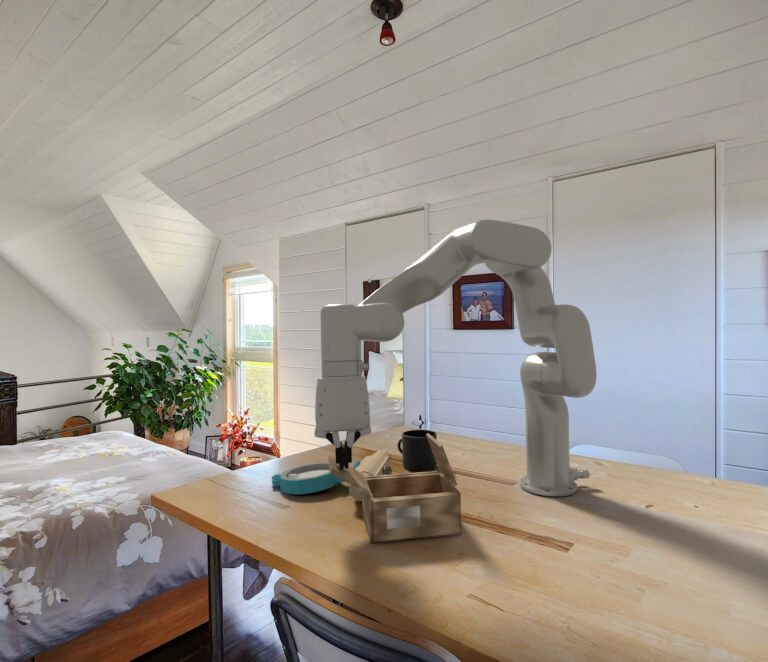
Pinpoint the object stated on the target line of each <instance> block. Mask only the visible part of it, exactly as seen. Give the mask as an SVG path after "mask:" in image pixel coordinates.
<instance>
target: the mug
mask: <svg viewBox="0 0 768 662" xmlns="http://www.w3.org/2000/svg"><path fill="white" fill-rule="evenodd" d="M428 433H429V434H430V435H431V436H432V437H433V438H435V439H436V440H437V439H438V438H437V433H436V431H433V430H428V429H411V430H405V431H404V432H402V434H401V438H400V439H399V440H398V442H397V449H398V452H399V453H400V454H401V455H402V467H403V468H404V467H405V468H404V469H406V468H407V469H406V470H408V469H410V470H409V471H412V470H416V471H415V472H423V471H422V470H428V471H432V470H434V468H435V469H436V468H437V467H438V465H437V462H436V460H435V457H434V454H433V452H432V449H431V447H430V444H429V441H428V439H427V436H426V434H428ZM437 441H438V440H437ZM401 446H402V447H401ZM431 469H432V470H431Z"/></svg>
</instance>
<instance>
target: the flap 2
mask: <svg viewBox="0 0 768 662" xmlns="http://www.w3.org/2000/svg"><path fill="white" fill-rule="evenodd" d="M426 436H427V439H428V441H429V444H430V447H431V449H432V452H433V454H434V457H435V460H436V462H437V467H438V470H439V471H440V473H442V474H443V475H444V476H445V477H446V478H447V479H448V480H449V481H450V482H451V483H452V484H453V485H454V487H456V486H458V483H457V480H456V478H455V475H454V472H453V469H452V467H451V465H450V461H449V459H448V456H447V455H446V451H445V448H444V446H443V444H441V443H440V442H439V441H438V440H436V439H435V438H433V437H432V436H431V435H430V434H429V433H428V434H426Z"/></svg>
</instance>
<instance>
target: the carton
mask: <svg viewBox="0 0 768 662" xmlns="http://www.w3.org/2000/svg"><path fill="white" fill-rule="evenodd" d="M365 479H366V481H367V484H368V487H369V489H370V493H369V494H367V493H365V492H363V491H362V501H361V502H362V503H361V504H362V505H361V506H362V518H363V522H364V525H365V529H366V532H367V535H368V540H369V543H370V544H377V543H385V542H396V541H406V540H417V539H427V537H428V539H429V538H436V536H439V537H446V536H447V535H449V536H457V535H458V534H459V535H462V503H461V500H462V499H461V492H460V490H458V488H456V486H454V485H453V484H452V483H451V482H450V481H449V480H448V479H447V477H446V476H445V475H444V474H443V473H442V472H439V471H438V470H434V471H433V470H432V471H418V472H410V473H409V472H407V473H394V474H393V473H392V475H379V476H365ZM447 537H448V536H447Z"/></svg>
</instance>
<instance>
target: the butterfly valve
mask: <svg viewBox="0 0 768 662" xmlns="http://www.w3.org/2000/svg"><path fill="white" fill-rule="evenodd" d="M391 460H392V457H391V454H390V453H389V452H388V450H385V449H379V450H377V451H375V453H373V454H371V455H365V457H364V458H363V459H362V460H361V461H359V460H356V461H354V463H353V466H351V467H352V468H353V469H355V470H357V471H359V472H361V473H362V474H364V476H379V475H392V474H393V470H392V467H391ZM339 483H346V482H345V481H343V480H342V479H340V478H338V477H336V476H334V475H333V474H331V473H330V468H329V461H319V462H311V463H307V464H306V463H305V464H302V465H301V464H300V465H297V466H294V467H290V468H289V469H287V470H284V471H283V472H281V473H276V474H273V476H272V477H271V484H272V487H279V488H280V491H281V490H282V491H283V492H282V491H281V492H282V493H285V494H288V495H305V494H306V495H307V494H312V493H316V492H321V491H325V490H328V489H330V488H333V487H335V486H337V485H338V484H339ZM348 491H349V495H350V496H351V498H352V499H353V500H355V501H356V502H362V491H361V490H360V489H358V488H356V487H354V486H352V485H351V484H349V487H348Z"/></svg>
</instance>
